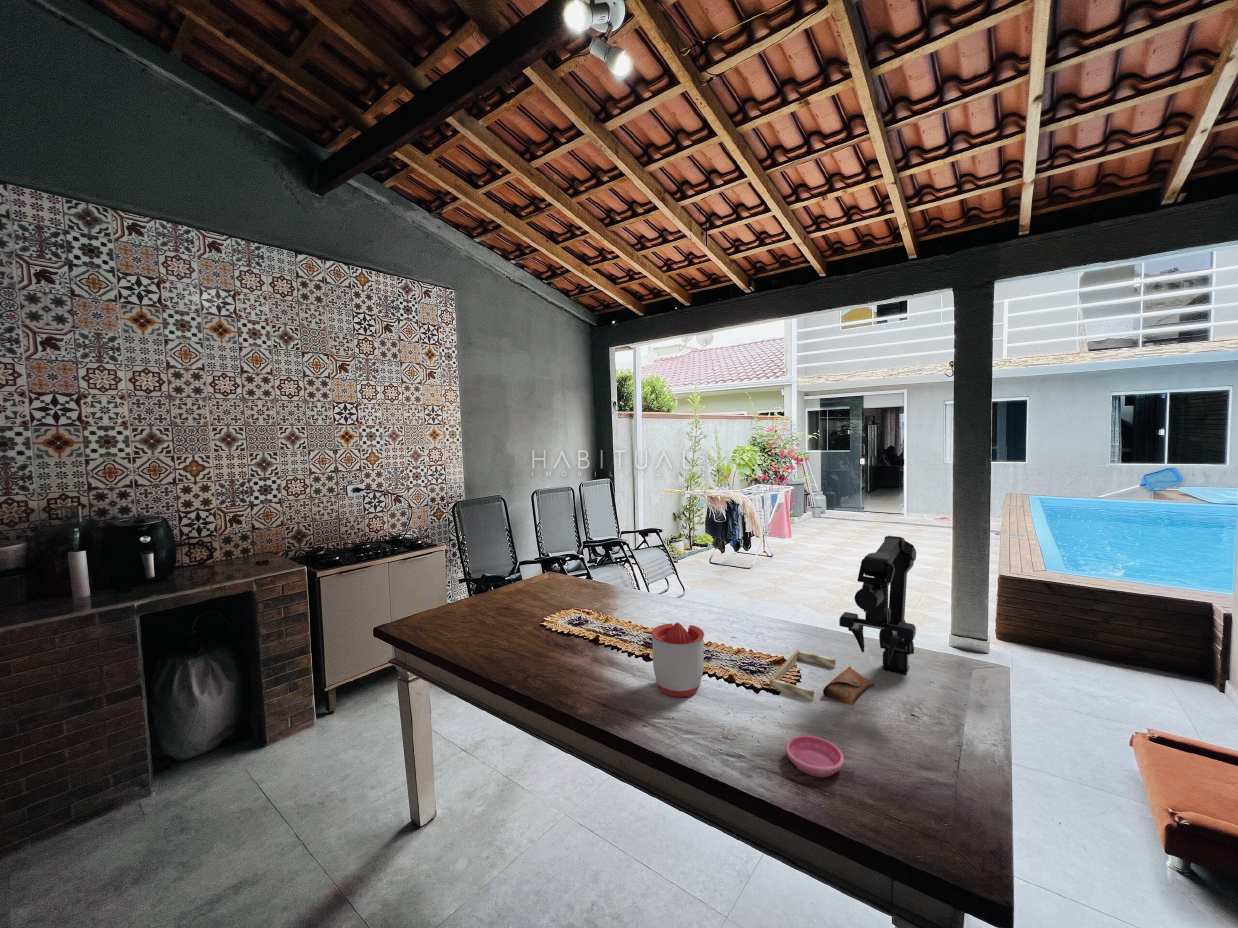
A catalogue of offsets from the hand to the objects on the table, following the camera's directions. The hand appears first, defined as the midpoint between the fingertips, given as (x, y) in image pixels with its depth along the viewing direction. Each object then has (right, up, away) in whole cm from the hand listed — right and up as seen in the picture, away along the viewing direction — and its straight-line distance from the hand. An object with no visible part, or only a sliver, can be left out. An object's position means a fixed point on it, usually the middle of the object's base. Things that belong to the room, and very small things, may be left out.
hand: (876, 654), depth 143 cm
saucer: (-28, -15, -28) cm, 42 cm away
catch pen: (-16, -12, +13) cm, 23 cm away
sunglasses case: (-6, -13, +5) cm, 15 cm away
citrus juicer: (-55, -13, +8) cm, 57 cm away
